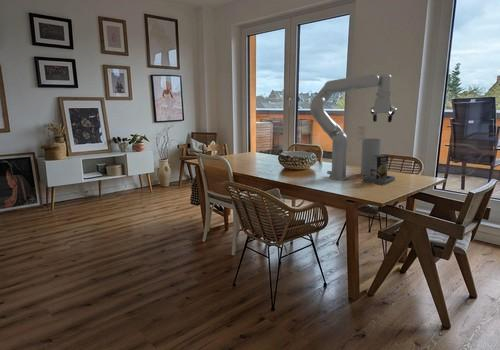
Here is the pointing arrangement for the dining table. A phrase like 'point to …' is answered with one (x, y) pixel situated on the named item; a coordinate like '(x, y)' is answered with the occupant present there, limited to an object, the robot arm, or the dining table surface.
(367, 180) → the tray
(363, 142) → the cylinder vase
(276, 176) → the dining table surface
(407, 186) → the dining table surface
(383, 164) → the coffee box
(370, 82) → the robot arm
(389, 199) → the dining table surface
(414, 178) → the dining table surface
